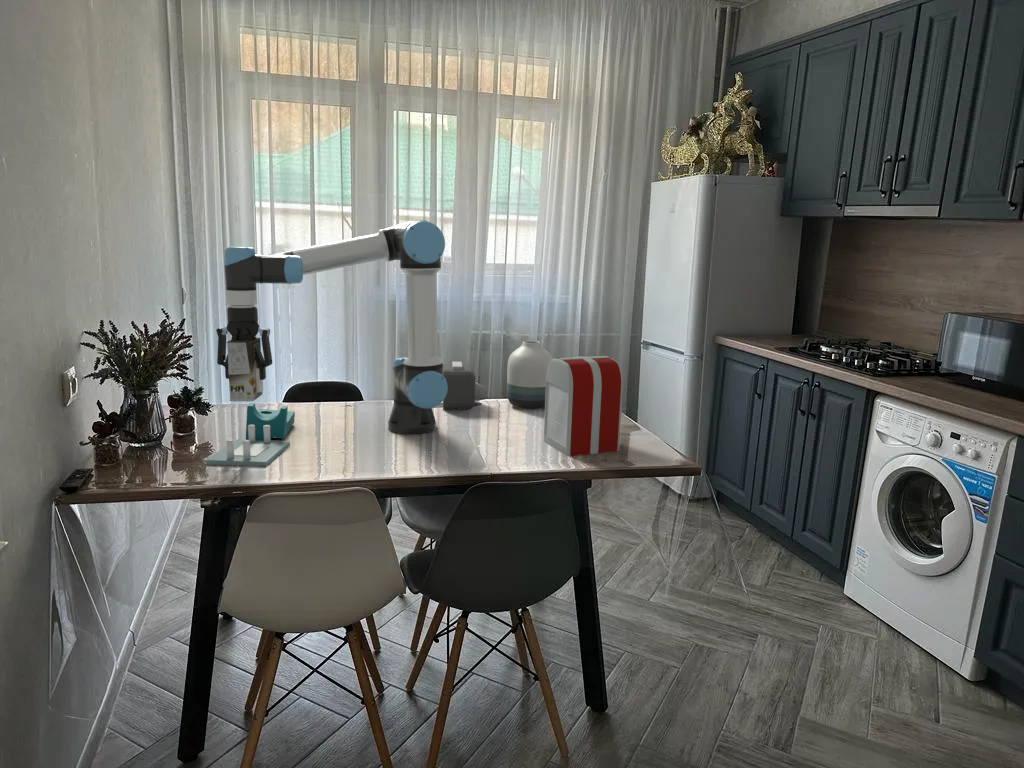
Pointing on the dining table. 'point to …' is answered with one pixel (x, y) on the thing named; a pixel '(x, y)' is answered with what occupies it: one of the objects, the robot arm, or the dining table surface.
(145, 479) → the dining table surface
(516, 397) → the vase
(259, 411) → the teal cradle block
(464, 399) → the alarm clock
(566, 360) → the red white rounded block
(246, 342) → the coffee box
